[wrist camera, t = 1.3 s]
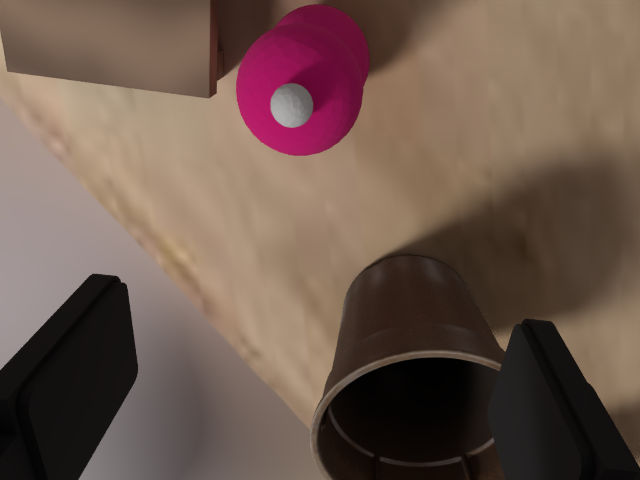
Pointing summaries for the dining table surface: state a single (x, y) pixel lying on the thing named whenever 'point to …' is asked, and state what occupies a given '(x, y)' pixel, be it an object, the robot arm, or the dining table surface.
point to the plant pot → (409, 380)
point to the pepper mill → (304, 81)
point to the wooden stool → (116, 42)
